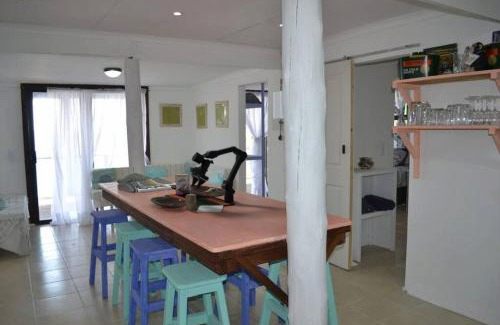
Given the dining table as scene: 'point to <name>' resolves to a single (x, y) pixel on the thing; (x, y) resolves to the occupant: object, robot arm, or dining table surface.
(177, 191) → the candy bar box
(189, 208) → the walnut block
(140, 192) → the holder
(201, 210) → the grey mat
